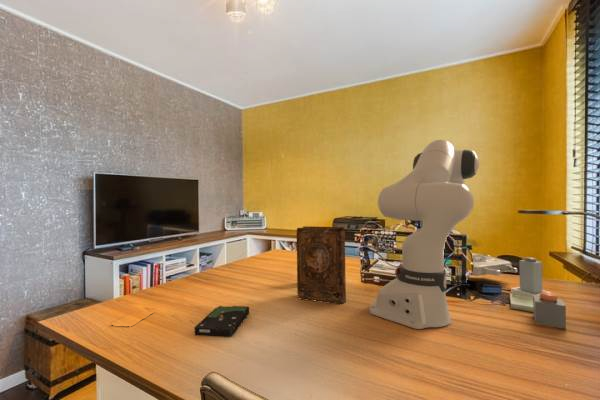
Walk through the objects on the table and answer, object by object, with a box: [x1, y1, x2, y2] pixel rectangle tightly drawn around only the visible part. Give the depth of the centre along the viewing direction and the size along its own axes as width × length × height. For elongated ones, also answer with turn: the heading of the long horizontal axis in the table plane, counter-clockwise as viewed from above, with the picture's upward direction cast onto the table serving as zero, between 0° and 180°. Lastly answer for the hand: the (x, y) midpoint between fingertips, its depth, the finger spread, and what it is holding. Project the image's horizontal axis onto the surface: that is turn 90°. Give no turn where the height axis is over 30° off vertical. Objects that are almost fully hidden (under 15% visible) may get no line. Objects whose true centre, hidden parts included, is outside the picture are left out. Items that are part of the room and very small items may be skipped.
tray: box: [509, 293, 533, 313], centre depth 86 cm, size 10×10×2 cm
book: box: [296, 225, 347, 305], centre depth 96 cm, size 16×6×25 cm, turn 68°
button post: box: [532, 295, 567, 330], centre depth 76 cm, size 6×6×6 cm
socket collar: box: [510, 286, 553, 297], centre depth 95 cm, size 8×8×2 cm
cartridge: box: [518, 256, 543, 295], centre depth 95 cm, size 4×4×13 cm
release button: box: [540, 292, 558, 302], centre depth 76 cm, size 4×4×6 cm
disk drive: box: [194, 305, 250, 338], centre depth 78 cm, size 10×3×15 cm
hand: (507, 272), depth 102 cm, fingers open, 8 cm apart
